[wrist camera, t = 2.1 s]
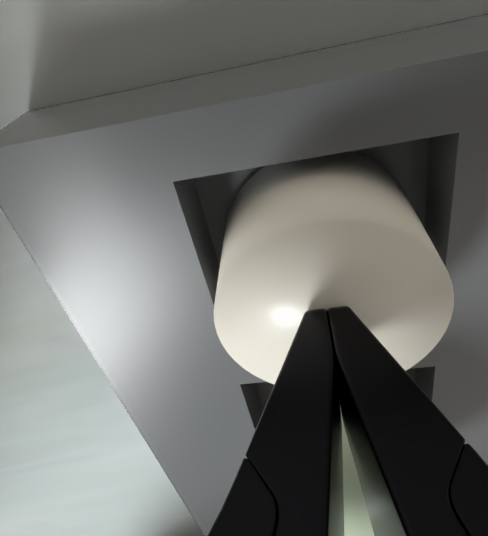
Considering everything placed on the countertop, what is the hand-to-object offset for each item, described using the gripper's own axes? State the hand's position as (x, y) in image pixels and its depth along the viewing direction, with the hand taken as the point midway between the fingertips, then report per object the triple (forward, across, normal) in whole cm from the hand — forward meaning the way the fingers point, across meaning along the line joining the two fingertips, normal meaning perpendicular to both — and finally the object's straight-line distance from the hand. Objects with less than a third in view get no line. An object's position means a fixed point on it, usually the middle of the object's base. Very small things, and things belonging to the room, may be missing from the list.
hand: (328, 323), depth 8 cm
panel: (+4, 0, +6) cm, 8 cm away
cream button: (+3, 0, 0) cm, 3 cm away
